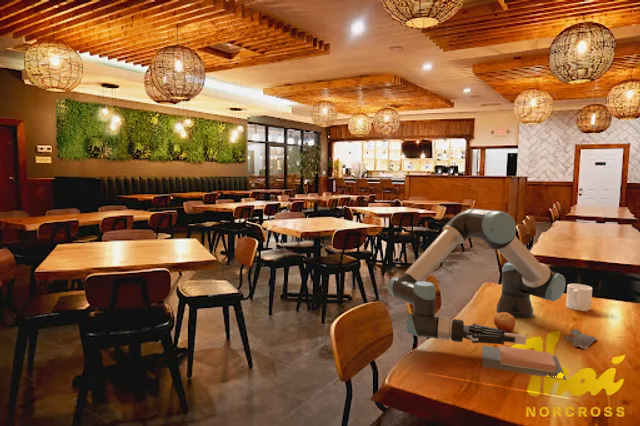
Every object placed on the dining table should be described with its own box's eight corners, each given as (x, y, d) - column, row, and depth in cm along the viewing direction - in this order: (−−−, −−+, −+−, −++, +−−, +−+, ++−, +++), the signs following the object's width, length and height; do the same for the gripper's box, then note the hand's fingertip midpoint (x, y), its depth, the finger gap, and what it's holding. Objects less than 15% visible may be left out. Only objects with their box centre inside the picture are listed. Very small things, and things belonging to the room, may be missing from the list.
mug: (569, 303, 208) (570, 282, 207) (593, 308, 201) (594, 286, 200) (561, 308, 199) (563, 287, 198) (586, 314, 192) (587, 291, 191)
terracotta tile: (500, 357, 139) (555, 365, 134) (499, 345, 149) (550, 353, 143) (500, 364, 140) (555, 372, 134) (499, 352, 149) (550, 359, 143)
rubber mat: (482, 367, 138) (482, 366, 138) (482, 346, 155) (482, 345, 155) (566, 381, 130) (566, 380, 129) (556, 357, 146) (556, 356, 146)
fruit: (513, 323, 175) (515, 310, 171) (514, 338, 169) (516, 325, 165) (492, 320, 178) (493, 307, 173) (492, 335, 172) (494, 322, 167)
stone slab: (571, 328, 172) (600, 333, 165) (571, 332, 172) (600, 338, 165) (555, 341, 160) (586, 348, 152) (555, 345, 160) (586, 353, 152)
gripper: (452, 333, 156) (523, 343, 147) (449, 347, 143) (527, 358, 135) (453, 313, 155) (524, 322, 147) (450, 325, 143) (528, 336, 134)
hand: (525, 340), depth 141 cm, fingers closed
